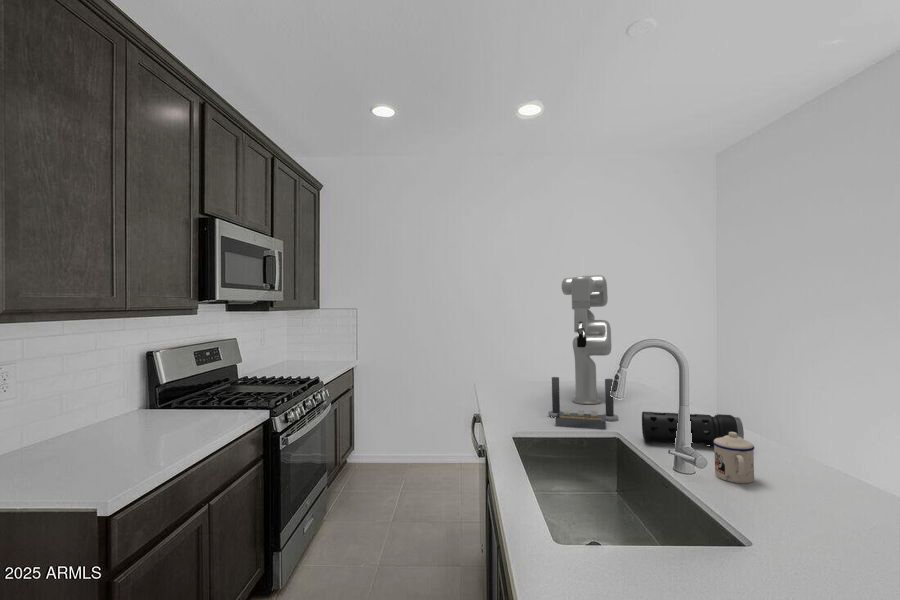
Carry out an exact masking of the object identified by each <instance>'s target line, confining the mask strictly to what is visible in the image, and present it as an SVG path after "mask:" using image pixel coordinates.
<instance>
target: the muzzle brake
mask: <svg viewBox="0 0 900 600" xmlns="http://www.w3.org/2000/svg"><path fill="white" fill-rule="evenodd" d="M689 414H690V421H691V433H692V442H693V443H692V444H694V445H695V444H696V445H710V446H714V444H713V442H714V440H715V439H716V438H720V437H724V436H726V435H729V432H736V433H737V434H738V437H741V438H743V439H744V437H745V435H744V434H745V432H744V427H743V423H742V420H741V418H740V417H738V416H737V417H736V416H733V415H732V414H721V413H720V414H719V413H717V414H715V415H713V416H712V415H710V414H705V413H704V414H699V413H689ZM677 423H678V412H657V411H655V412H654V411H642V412H641V430H642V438H643V440H644V441H645V443H654V444H655V443H657V444H672V445H675V444H674V443H675V438H676V431H677ZM744 440H745V439H744Z"/></svg>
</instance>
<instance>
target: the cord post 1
mask: <svg viewBox="0 0 900 600" xmlns="http://www.w3.org/2000/svg"><path fill="white" fill-rule="evenodd" d="M560 398H561V397H560V377H559V376H552V377H551V401H552V402H551V403H552V404H551V406H552V407H551V409H552V410H550V411H548V413H547V414H548V415H549V416H552V417H556V416H557V414H558V412H562V413H564V411H561V409H560V408H561V406H560V404H561V401H560V400H561V399H560ZM549 416H548V417H549ZM552 417H551V418H552Z"/></svg>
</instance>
